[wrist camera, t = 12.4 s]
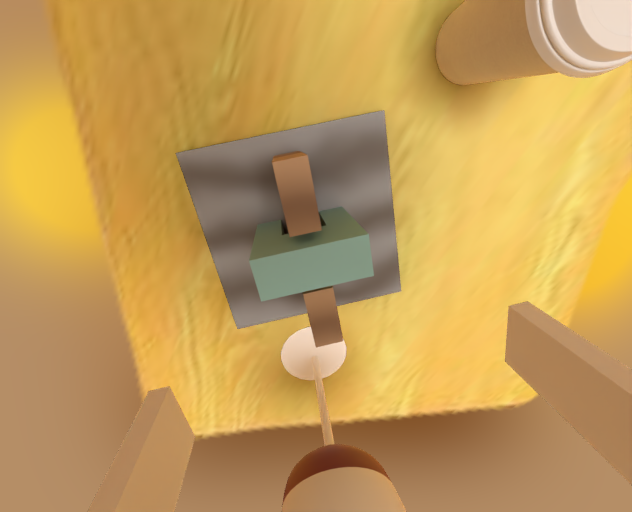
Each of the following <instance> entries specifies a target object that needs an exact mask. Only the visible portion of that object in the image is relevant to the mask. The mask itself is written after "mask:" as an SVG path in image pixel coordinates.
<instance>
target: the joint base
mask: <svg viewBox="0 0 632 512" xmlns="http://www.w3.org/2000/svg"><path fill="white" fill-rule="evenodd" d="M176 155H177V158H178V161H179V164H180V167H181V170H182V172H183V175H184V178H185V181H186V184H187V187H188V189H189V192H190V195H191V198H192V201H193V204H194V207H195V209H196V212H197V215H198V218H199V221H200V224H201V226H202V229H203V232H204V235H205V238H206V241H207V244H208V246H209V249H210V252H211V255H212V258H213V261H214V263H215V266H216V269H217V272H218V275H219V278H220V280H221V283H222V286H223V289H224V292H225V295H226V298H227V300H228V303H229V306H230V309H231V312H232V315H233V317H234V320H235V323H236V326H237V329H240V328H245V327H249V326H253V325H258V324H262V323H266V322H270V321H275V320H279V319H283V318H288V317H292V316H296V315H301V314H305V313H308V317H309V321H310V325H311V329H312V333H313V338H314V342H315V346H316V348H317V347H321V346H325V345H329V344H333V343H338V342H342V341H343V337H342V332H341V327H340V321H339V316H338V311H337V306H339V305H344V304H348V303H352V302H357V301H361V300H365V299H370V298H374V297H378V296H383V295H387V294H391V293H396V292H400V291H401V284H400V274H399V263H398V252H397V242H396V231H395V220H394V209H393V199H392V188H391V177H390V167H389V156H388V145H387V135H386V124H385V113H384V110H383V111H378V112H373V113H368V114H363V115H358V116H353V117H349V118H344V119H339V120H334V121H329V122H324V123H319V124H315V125H310V126H305V127H300V128H295V129H290V130H285V131H281V132H276V133H271V134H266V135H261V136H256V137H251V138H247V139H242V140H237V141H232V142H227V143H222V144H217V145H213V146H208V147H203V148H198V149H193V150H188V151H183V152H179V153H176ZM341 206H342V207H343V208H344V209H345V210H346V211H347V212H348V213H349V214H350V215H351V216H352V217H353V218H354V219H355V220H356V222H357V223H358V224H359V225H360V226H361V227H362V228H363V229H364V230H365V231H366V232H367V233H368V234H369V241H370V248H371V256H372V264H373V271H374V276H371V277H367V278H362V279H358V280H353V281H349V282H345V283H340V284H336V285H332V286H327V287H323V288H319V289H314V290H310V291H305V292H301V293H297V294H292V295H288V296H284V297H279V298H275V299H270V300H266V301H262V302H261V299H260V296H259V292H258V289H257V286H256V282H255V279H254V276H253V273H252V269H251V266H250V263H249V258H250V254H251V250H252V246H253V242H254V237H255V233H256V229H257V225H259V224H263V223H268V222H272V221H277V220H281V221H282V225H283V229H284V234H289V237H293V236H298V235H302V234H307V233H311V232H316V231H320V230H322V228H321V222H320V216H319V211H323V210H327V209H332V208H336V207H341Z"/></svg>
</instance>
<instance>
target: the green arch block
mask: <svg viewBox="0 0 632 512" xmlns="http://www.w3.org/2000/svg"><path fill="white" fill-rule="evenodd" d="M319 216H320V222H321V228H322V230H320V231H316V232H311V233H307V234H302V235H298V236H293V237H289V234H284V229H283V225H282V221H281V220H277V221H272V222H268V223H263V224H259V225H257V229H256V233H255V237H254V242H253V246H252V250H251V254H250V258H249V263H250V266H251V269H252V273H253V276H254V279H255V282H256V286H257V289H258V292H259V296H260V299H261V302H262V301H266V300H270V299H275V298H279V297H284V296H288V295H292V294H297V293H301V292H305V291H310V290H314V289H319V288H323V287H327V286H332V285H336V284H340V283H345V282H349V281H353V280H358V279H362V278H367V277H371V276H374V271H373V264H372V256H371V248H370V241H369V234H368V233H367V232H366V231H365V230H364V229H363V228H362V227H361V226H360V225H359V224H358V223H357V222H356V220H355V219H354V218H353V217H352V216H351V215H350V214H349V213H348V212H347V211H346V210H345V209H344V208H343V207H342V206H341V207H336V208H332V209H327V210H323V211H319Z"/></svg>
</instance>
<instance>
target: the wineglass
mask: <svg viewBox="0 0 632 512" xmlns="http://www.w3.org/2000/svg"><path fill="white" fill-rule="evenodd" d="M345 357H346V344H345V342H344V339H343V341H342V342H338V343H333V344H329V345H325V346H321V347H317V348H316V346H315V342H314V338H313V333H312V329H311V327H307V328H304V329H301V330H298V331H297V332H295V333H294V334H293V335H291V336H290V337H289V338H288V339H287V341H286V342H285V343H284V345H283V348H282V351H281V361H282V364H283V366H284V368H285V369H286V370H287V371H288V372H289V373H290V374H291V375H293V376H295V377H297V378H299V379H304V380H315V385H316V391H317V398H318V404H319V411H320V417H321V423H322V429H323V436H324V443H325V446H323V447H320V448H318V449H316V450H314V451H312V452H310V453H309V454H307V455H306V456H304V457H303V458H302V459H301V460H300V461H299V462H298V463H297V464H296V466H295V467H294V468H293V470H292V472H291V474H290V476H289V478H288V481H287V484H286V488H285V493H284V498H283V504H282V511H281V512H407V511H406V509H405V507H404V506H403V503H402V501H401V499H400V498H399V495H398V494H397V492H396V490H395V488H394V486H393V484H392V482H391V480H390V479H389V477H388V475H387V474H386V472H385V471H384V469H383V467H382V466H381V465H380V463H379V462H378V461H377V460H376V459H375V458H373V457H372V456H371V455H370V454H368V453H367V452H365V451H363V450H361V449H359V448H356V447H353V446H348V445H342V444H334V440H333V435H332V429H331V424H330V418H329V413H328V408H327V402H326V397H325V392H324V386H323V381H322V378H325V377H328V376H330V375H331V374H333V373H334V372H336V371H337V370H338V369H339V368H340V366H341V365H342V364H343V362H344V360H345Z"/></svg>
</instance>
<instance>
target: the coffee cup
mask: <svg viewBox="0 0 632 512" xmlns="http://www.w3.org/2000/svg"><path fill="white" fill-rule="evenodd" d="M436 60H437V64H438V67H439V69H440V71H441V73H442V74H443V76H444V77H445V78H446V79H447V80H449V81H450V82H452V83H454V84H458V85H469V84H476V83H484V82H491V81H499V80H506V79H513V78H521V77H529V76H536V75H544V74H552V73H561V74H564V75H566V76H570V77H577V78H586V77H593V76H597V75H601V74H604V73H606V72H609V71H611V70H613V69H615V68H617V67H620V66H622V65H623V64H625V63H627V62H629V61H630V60H632V0H465V1H464V2H463V3H462V4H461V5H460V6H459V7H458V8H456V9H455V10H454V11H453V12H452V13H451V14H450V15H449V16H448V18H447V19H446V20H445V22H444V23H443V25H442V27H441V29H440V31H439V34H438V37H437V42H436Z"/></svg>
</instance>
